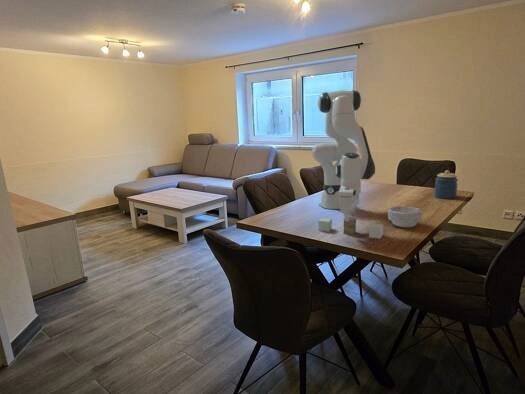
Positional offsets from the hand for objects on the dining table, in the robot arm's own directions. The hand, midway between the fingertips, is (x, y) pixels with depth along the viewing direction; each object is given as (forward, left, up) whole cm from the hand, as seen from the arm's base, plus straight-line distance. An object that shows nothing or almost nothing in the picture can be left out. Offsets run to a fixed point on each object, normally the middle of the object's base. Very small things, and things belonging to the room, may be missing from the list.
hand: (350, 218), depth 156 cm
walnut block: (0, 0, -7) cm, 7 cm away
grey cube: (0, +12, -7) cm, 14 cm away
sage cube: (0, -12, -7) cm, 14 cm away
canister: (-93, +37, -7) cm, 101 cm away
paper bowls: (-22, +21, -8) cm, 31 cm away
